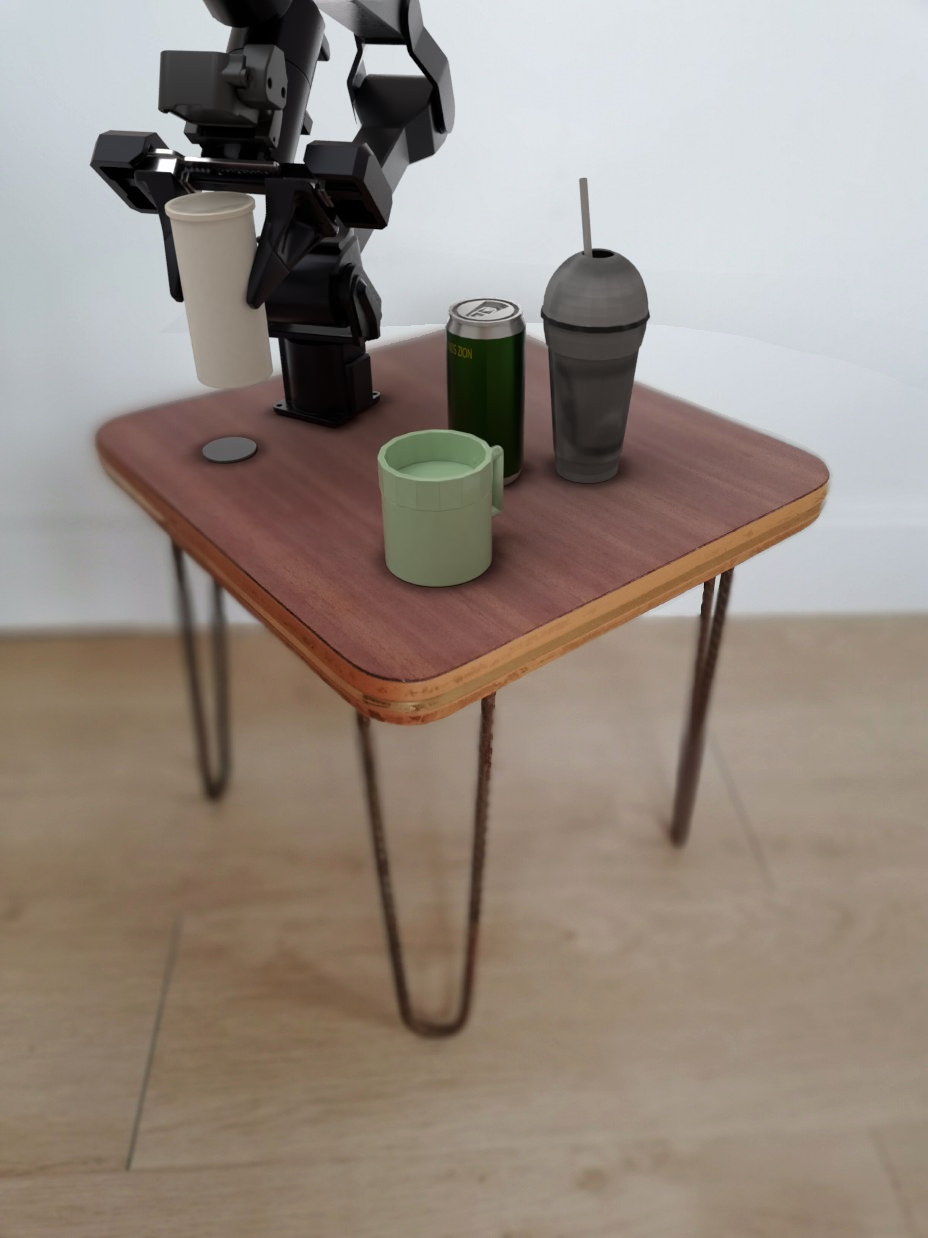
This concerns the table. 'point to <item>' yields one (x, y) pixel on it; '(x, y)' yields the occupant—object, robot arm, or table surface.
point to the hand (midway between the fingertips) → (213, 302)
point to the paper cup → (220, 287)
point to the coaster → (229, 450)
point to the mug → (439, 505)
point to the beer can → (488, 375)
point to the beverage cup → (592, 354)
